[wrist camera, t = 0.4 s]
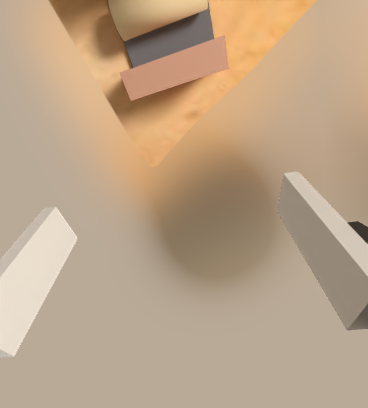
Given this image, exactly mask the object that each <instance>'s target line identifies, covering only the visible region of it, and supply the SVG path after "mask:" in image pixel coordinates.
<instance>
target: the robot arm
mask: <svg viewBox="0 0 368 408" xmlns="http://www.w3.org/2000/svg"><path fill="white" fill-rule="evenodd" d="M278 214H279V215H280V218H281V219H282V220H283V223H284V224H285V226H286V228H287V229H288V231H289V233H290V234H291V236H292V238H293V240H294V241H295V243H296V245H297V246H298V248H299V250H300V251H301V253H302V255H303V256H304V258H305V260H306V261H307V263H308V265H309V266H310V268H311V270H312V272H313V273H314V275H315V277H316V278H317V280H318V282H319V284H320V285H321V287H322V289H323V290H324V292H325V294H326V295H327V297H328V299H329V301H330V302H331V304H332V306H333V307H334V309H335V311H336V312H337V314H338V316H339V317H340V319H341V321H342V323H343V324H344V326H345V328H346V329H347V330H356V329H368V227H367V226H365V225H363V224H362V223H360V222H358V221H357V222H349V223H347V222H346V221H345V220H344V219H343V218H342V217H341V216H340V215H339V214H338V213H337V212H336V211H335V210H334V209H333V208H332V206H330V204H329V203H328V202H327V201H326V200H325V199H324V198H323V197H322V196H321V195H320V194H319V193H318V192H317V191H316V190H315V189H314V188H313V187H312V186H311V185H310V183H309V182H307V180H306V179H305V178H304V177H303V176H302V175H301V174H300V173H299V172H291V173H284V174H283V180H282V186H281V193H280V199H279V206H278ZM76 241H77V237H76V235H75V234H74V232H73V231H72V229H71V228H70V226H69V225H68V224H67V222H66V221H65V219H64V218H63V216H62V215H61V213H60V212H59V211H58V209H57V208H56V207H50V208H44V209H43V210H42V211H41V212H40V213H39V215H38V216H37V217H36V218H35V219H34V220H33V222H32V223H31V224H30V225H29V226H28V227H27V229H26V230H25V231H24V232H23V233H22V234H21V236H20V237H19V238H18V239H17V240H16V242H15V243H14V244H13V245H12V246H11V247H10V249H9V250H8V251H7V252H6V253H5V255H4V256H3V257H2V258H1V259H0V357H12V356H15V354H16V352H17V350H18V348H19V346H20V344H21V343H22V341H23V339H24V337H25V335H26V333H27V331H28V330H29V328H30V326H31V324H32V322H33V320H34V318H35V317H36V315H37V313H38V311H39V309H40V307H41V305H42V304H43V302H44V300H45V298H46V296H47V294H48V292H49V291H50V289H51V287H52V285H53V283H54V281H55V280H56V278H57V276H58V274H59V272H60V270H61V268H62V266H63V265H64V263H65V261H66V259H67V257H68V255H69V253H70V251H71V250H72V248H73V246H74V244H75V242H76Z"/></svg>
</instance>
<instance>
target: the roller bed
mask: <svg viewBox="0 0 368 408" xmlns="http://www.w3.org/2000/svg"><path fill="white" fill-rule="evenodd" d="M108 5H109V9H110V12H111V15H112V18H113V21H114V23H115V26H116V28H117V30H118V32H119V34H120V36H121V38H122V39H123V41H124V44H125V46H126V49H127V52H128V55H129V57H130V60H131V63H132V66H133V68H135V67H137V66H140V65H143V64H146V63H148V62H151V61H154V60H157V59H160V58H162V57H165V56H168V55H171V54H173V53H176V52H179V51H182V50H185V49H187V48H190V47H193V46H196V45H198V44H201V43H204V42H207V41H210V40H212V39H214V35H213V29H212V22H211V16H210V9H209V3H208V0H108Z"/></svg>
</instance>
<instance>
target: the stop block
mask: <svg viewBox="0 0 368 408" xmlns="http://www.w3.org/2000/svg"><path fill="white" fill-rule="evenodd" d="M228 68H229V66H228V59H227V51H226V43H225V36H224V35H223V36H221V37H218V38H215V39H212V40H210V41H207V42H204V43H201V44H198V45H196V46H193V47H190V48H187V49H185V50H182V51H179V52H176V53H173V54H171V55H168V56H165V57H162V58H160V59H157V60H154V61H151V62H148V63H146V64H143V65H140V66H137V67H135V68H132V69H129V70H126V71H123V72H121V73H120V75H121V78H122V80H123V83H124V85H125V88H126V90H127V93H128V95H129V98H130V100H131V101H132V100H135V99H138V98H141V97H144V96H147V95H150V94H153V93H156V92H159V91H162V90H165V89H168V88H171V87H174V86H177V85H180V84H183V83H186V82H189V81H192V80H195V79H198V78H201V77H204V76H207V75H210V74H213V73H216V72H219V71H222V70H225V69H228Z"/></svg>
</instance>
